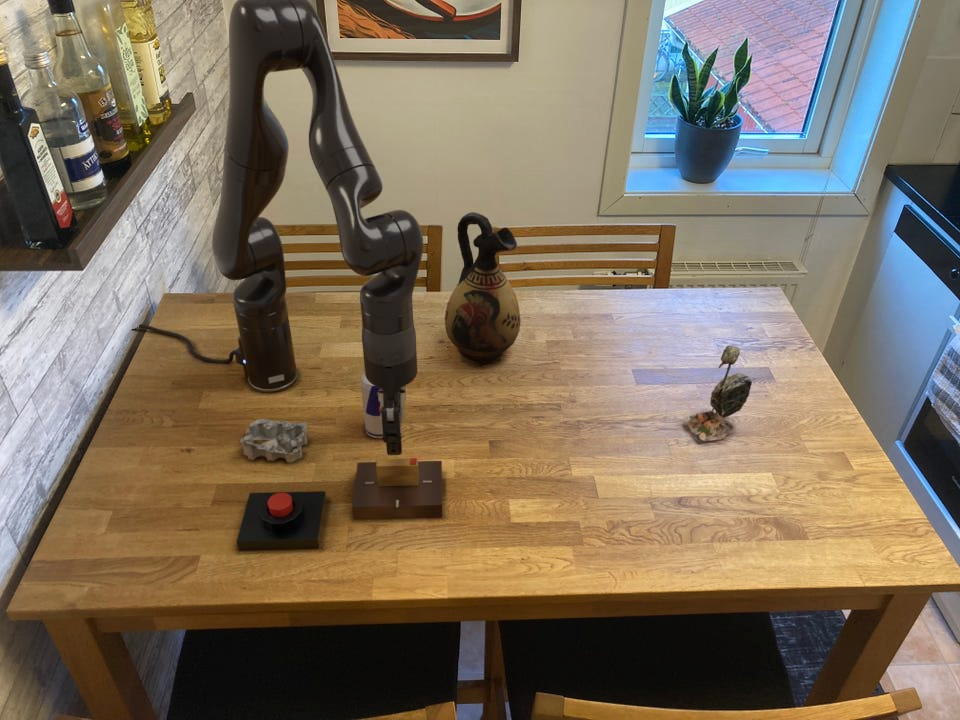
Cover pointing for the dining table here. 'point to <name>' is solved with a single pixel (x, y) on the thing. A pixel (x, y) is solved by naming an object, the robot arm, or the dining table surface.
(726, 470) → the dining table surface
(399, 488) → the dark brown flat block
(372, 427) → the energy drink
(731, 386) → the plant with pod
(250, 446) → the egg carton
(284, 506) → the release button
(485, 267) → the ceramic jug
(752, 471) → the dining table surface
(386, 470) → the handle
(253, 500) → the button box
